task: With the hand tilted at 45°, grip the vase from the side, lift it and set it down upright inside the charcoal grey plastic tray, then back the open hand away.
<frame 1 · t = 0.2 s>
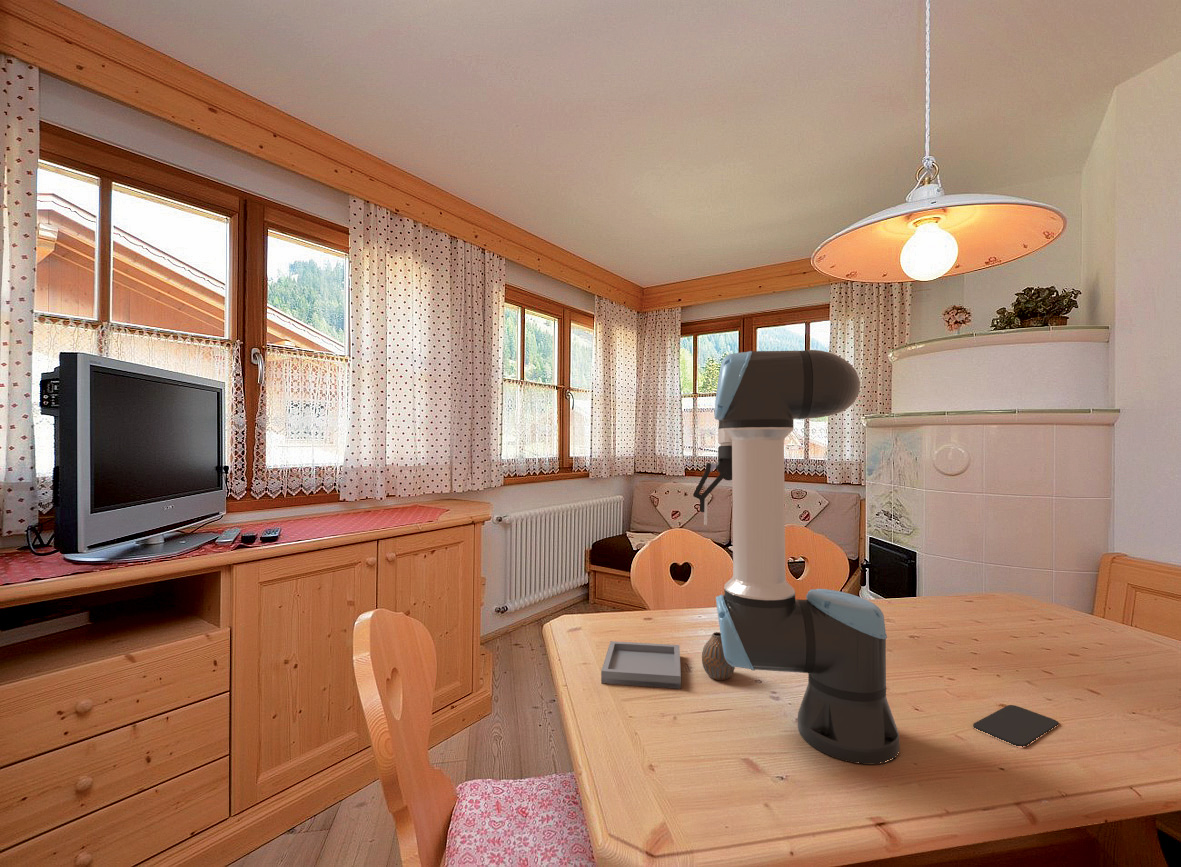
hand: (732, 526, 135), 27 cm above the table, tool pointing down, fingers open, 13 cm apart
tray: (642, 668, 112), on the table
vase: (718, 676, 108), on the table
phone: (1016, 729, 89), on the table
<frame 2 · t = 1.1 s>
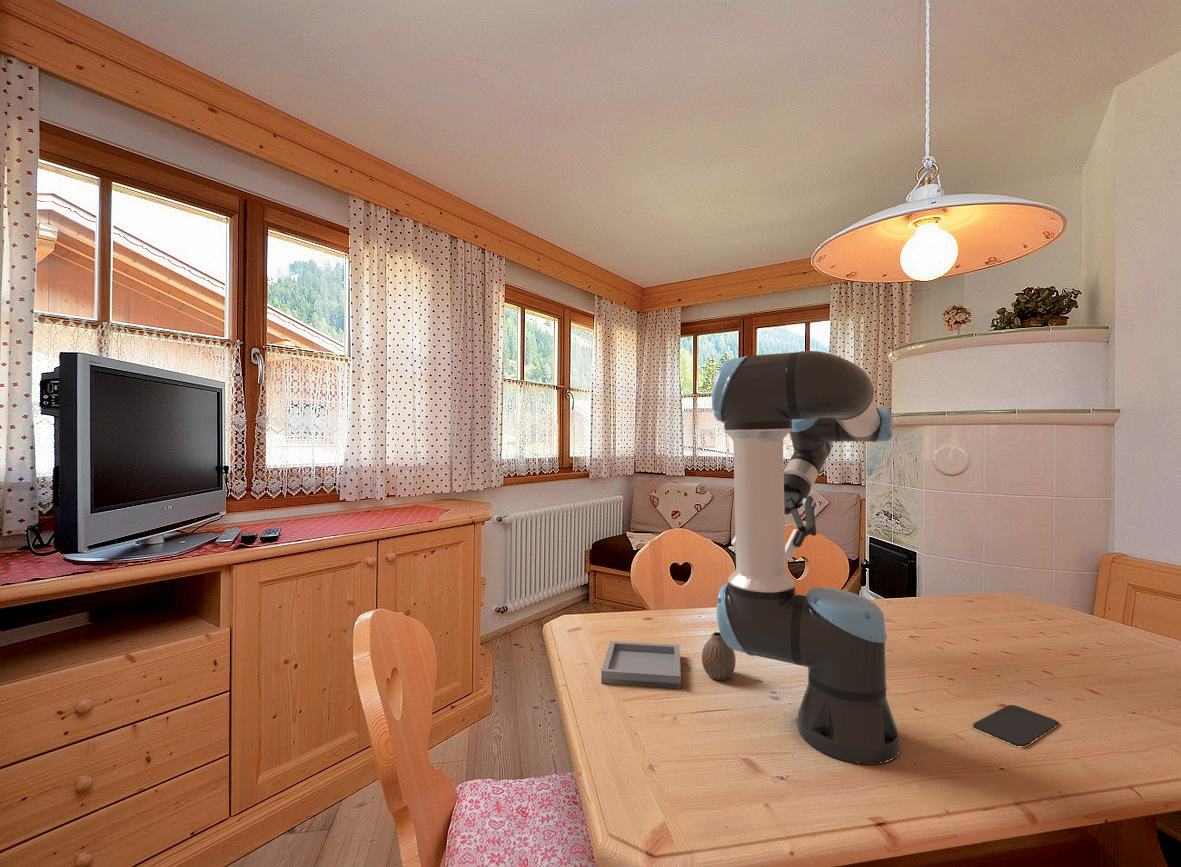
hand: (759, 551, 117), 24 cm above the table, tool tilted 45°, fingers open, 13 cm apart
nothing on the table moved.
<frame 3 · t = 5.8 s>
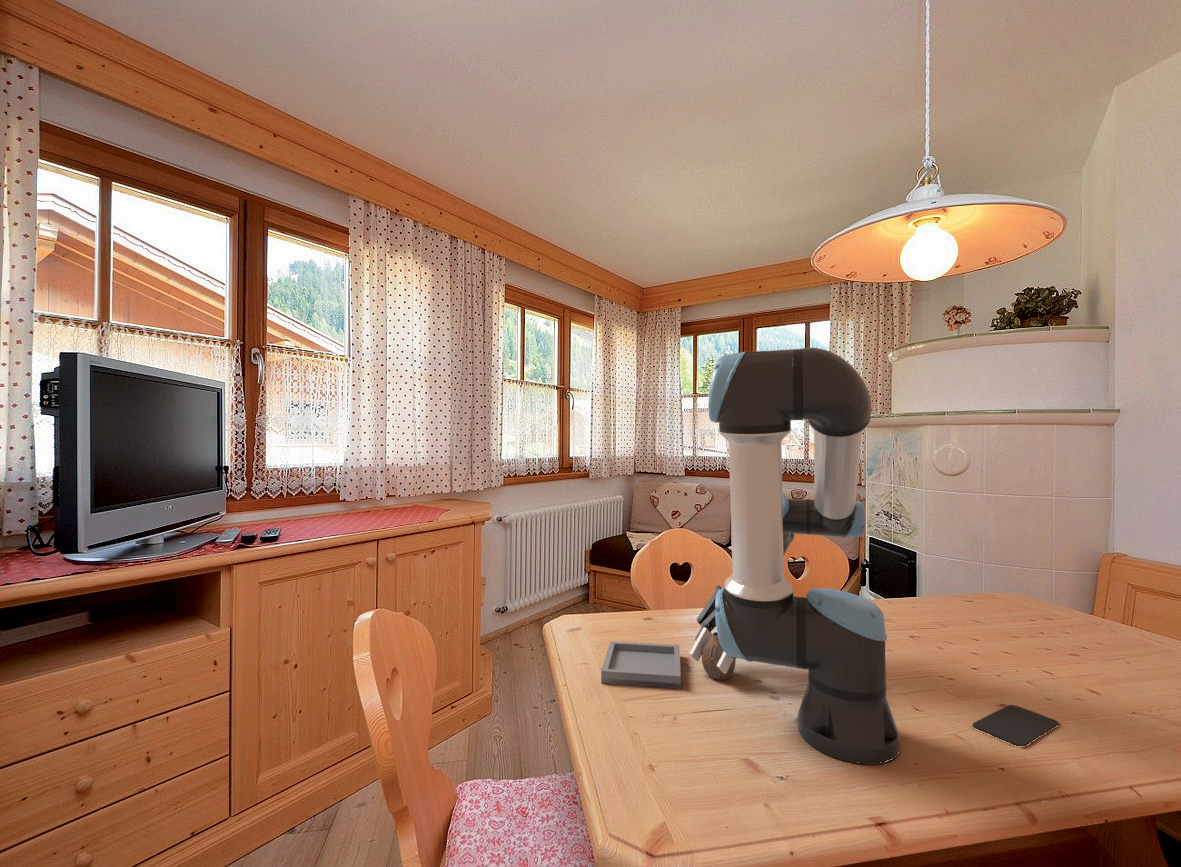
hand: (707, 663, 106), 3 cm above the table, tool tilted 45°, fingers closed on vase, 7 cm apart
vase: (718, 676, 108), on the table, touching gripper
everything else where it was.
when the fingers open (6 cm above the table, at t = 10.6 s): vase drops 1 cm, resting on tray.
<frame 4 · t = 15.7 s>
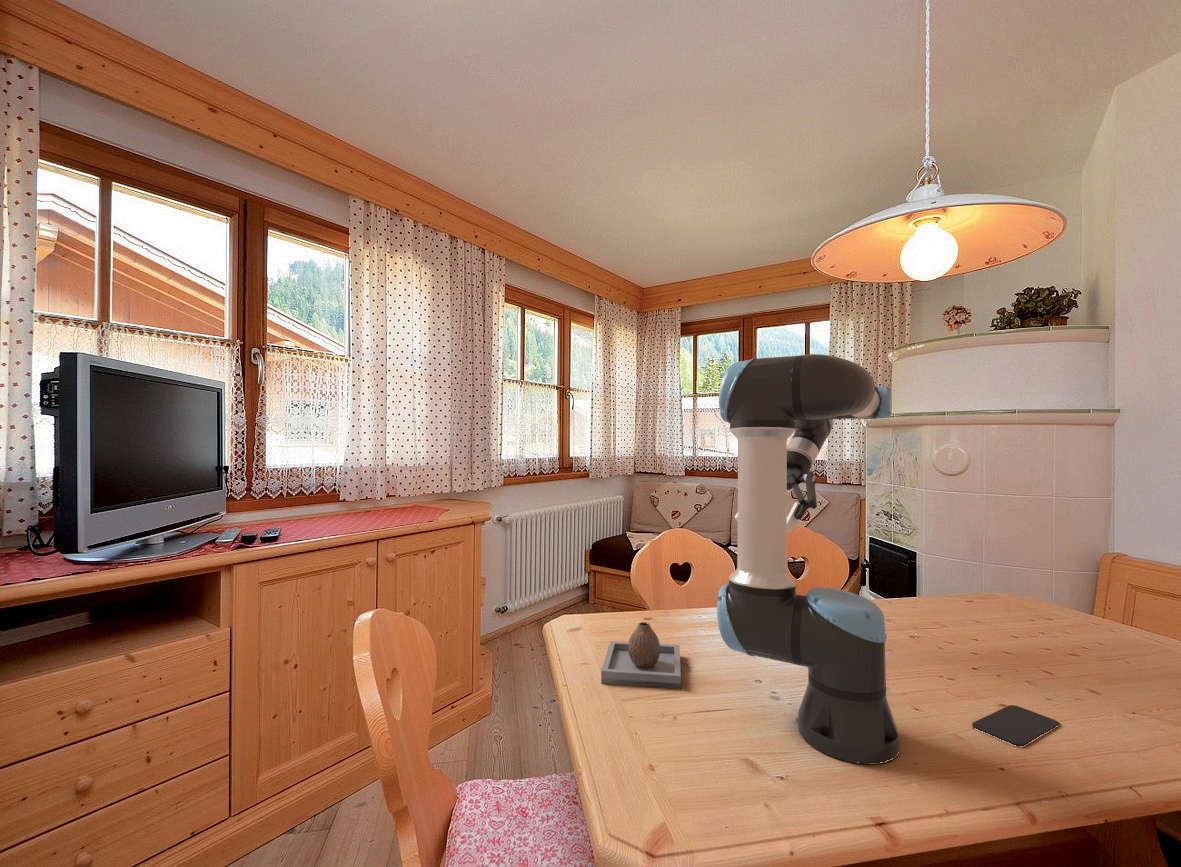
hand: (761, 524, 121), 30 cm above the table, tool tilted 45°, fingers open, 13 cm apart
vase: (644, 665, 112), point 1 cm above the table, touching tray
everything else where it was.
at the end: vase inside the target area on the tray (0.3 cm from its centre), point 0.8 cm above the tray's base; vase tilted 0°; the gripper is holding nothing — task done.
